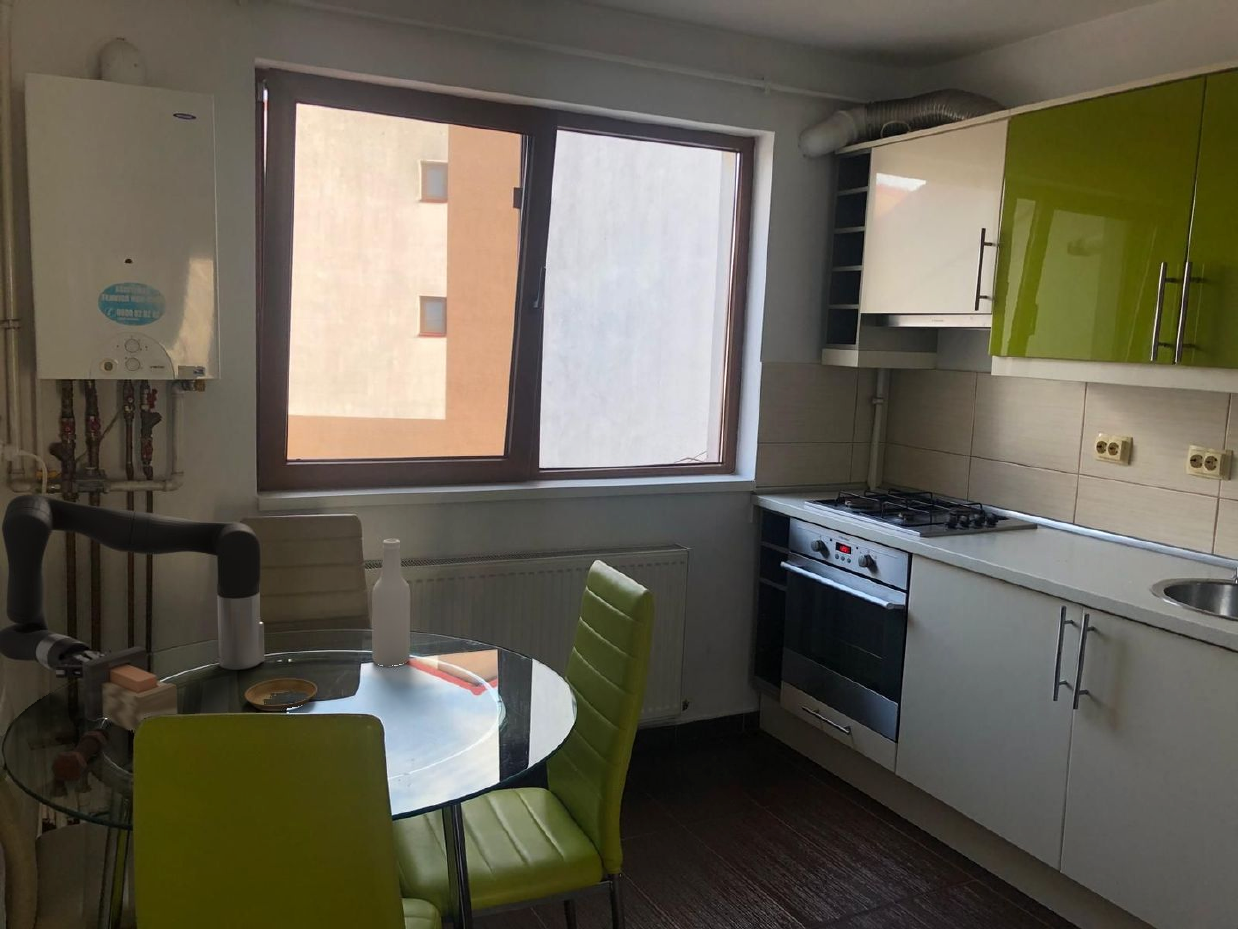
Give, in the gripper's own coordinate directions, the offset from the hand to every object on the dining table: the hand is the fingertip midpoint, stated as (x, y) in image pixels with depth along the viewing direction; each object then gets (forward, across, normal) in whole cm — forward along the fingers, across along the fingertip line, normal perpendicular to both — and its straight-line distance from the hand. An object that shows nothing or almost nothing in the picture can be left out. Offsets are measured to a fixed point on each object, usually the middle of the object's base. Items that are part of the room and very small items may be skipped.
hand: (108, 673), depth 208 cm
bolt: (+18, +15, -8) cm, 25 cm away
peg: (+7, 0, -2) cm, 7 cm away
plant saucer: (+24, -24, -8) cm, 35 cm away
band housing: (+8, 0, -8) cm, 11 cm away
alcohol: (+25, -55, -8) cm, 61 cm away
